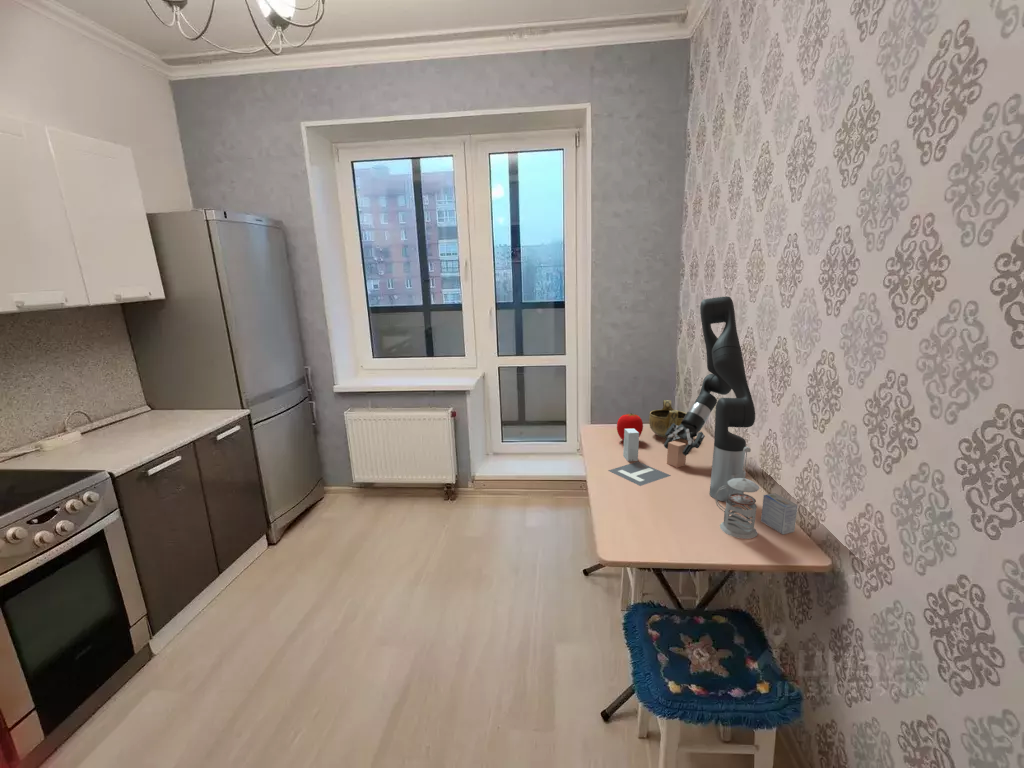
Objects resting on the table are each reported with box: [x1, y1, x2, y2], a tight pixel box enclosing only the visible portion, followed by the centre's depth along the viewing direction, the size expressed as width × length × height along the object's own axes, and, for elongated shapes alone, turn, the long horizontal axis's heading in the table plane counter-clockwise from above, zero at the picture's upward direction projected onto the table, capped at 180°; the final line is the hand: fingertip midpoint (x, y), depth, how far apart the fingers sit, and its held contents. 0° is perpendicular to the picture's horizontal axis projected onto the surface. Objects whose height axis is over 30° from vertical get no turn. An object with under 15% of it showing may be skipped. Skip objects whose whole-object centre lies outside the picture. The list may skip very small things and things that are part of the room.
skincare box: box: [622, 428, 640, 462], centre depth 185 cm, size 6×4×12 cm
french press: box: [715, 446, 760, 540], centre depth 131 cm, size 10×12×25 cm
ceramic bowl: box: [648, 399, 687, 440], centre depth 210 cm, size 22×17×15 cm
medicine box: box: [760, 492, 798, 535], centre depth 134 cm, size 8×4×9 cm, turn 17°
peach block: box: [666, 439, 688, 469], centre depth 178 cm, size 5×5×9 cm
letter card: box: [607, 461, 672, 487], centre depth 172 cm, size 16×16×1 cm
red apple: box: [616, 413, 644, 442], centre depth 205 cm, size 11×11×13 cm
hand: (674, 450), depth 177 cm, fingers open, 8 cm apart
